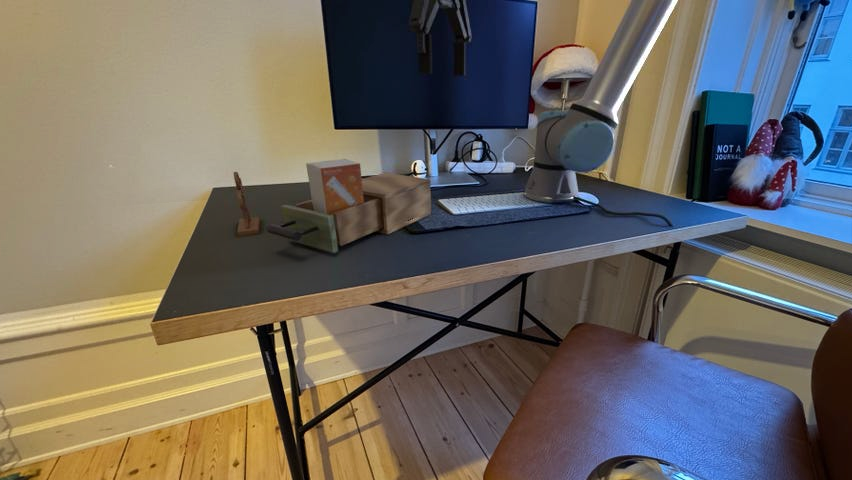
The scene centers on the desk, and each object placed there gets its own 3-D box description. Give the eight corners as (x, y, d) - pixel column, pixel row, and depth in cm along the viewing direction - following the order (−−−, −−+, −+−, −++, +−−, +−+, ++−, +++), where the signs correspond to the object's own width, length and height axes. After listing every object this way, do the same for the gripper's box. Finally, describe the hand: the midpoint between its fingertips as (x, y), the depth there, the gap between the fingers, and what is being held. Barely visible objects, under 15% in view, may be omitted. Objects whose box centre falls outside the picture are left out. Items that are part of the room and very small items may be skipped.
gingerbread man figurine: (259, 233, 77) (245, 175, 71) (237, 236, 75) (221, 177, 70) (259, 220, 84) (246, 167, 79) (240, 222, 82) (225, 168, 77)
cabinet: (387, 234, 78) (384, 194, 74) (340, 223, 83) (335, 185, 80) (431, 214, 91) (430, 179, 87) (388, 205, 96) (385, 172, 93)
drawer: (308, 264, 62) (301, 226, 59) (262, 249, 67) (253, 213, 64) (388, 228, 78) (386, 197, 75) (346, 218, 84) (342, 188, 81)
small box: (330, 236, 70) (319, 167, 65) (316, 228, 74) (304, 162, 69) (367, 227, 76) (360, 162, 70) (352, 219, 80) (344, 158, 74)
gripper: (420, -82, 57) (425, 72, 67) (489, -38, 77) (485, 76, 86) (383, -74, 60) (392, 72, 70) (458, -34, 80) (457, 76, 89)
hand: (443, 75), depth 78 cm, fingers open, 13 cm apart
